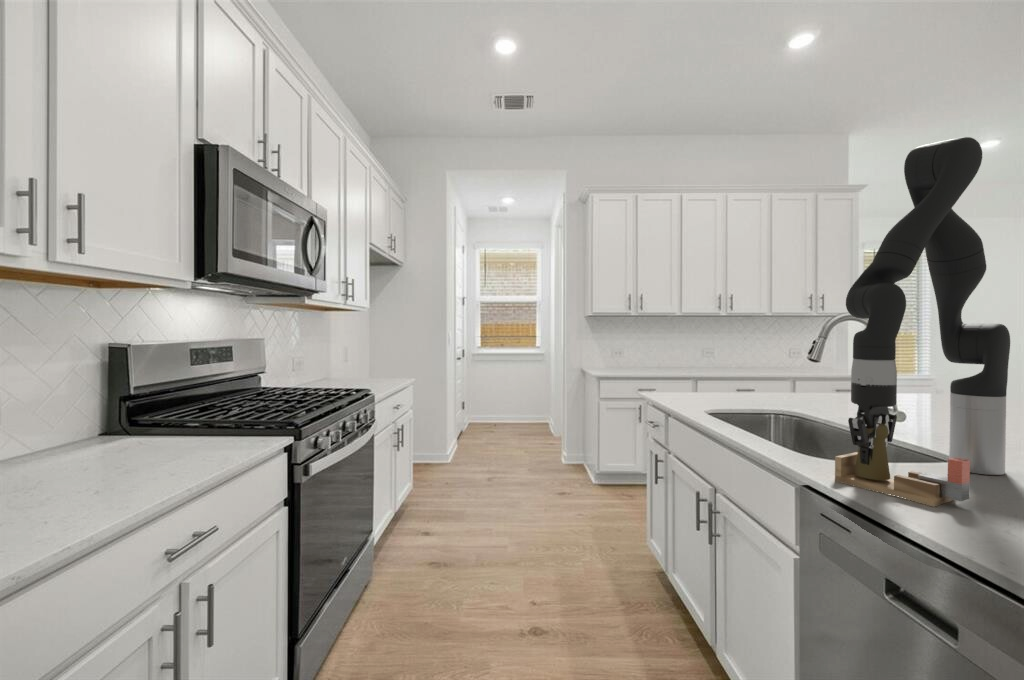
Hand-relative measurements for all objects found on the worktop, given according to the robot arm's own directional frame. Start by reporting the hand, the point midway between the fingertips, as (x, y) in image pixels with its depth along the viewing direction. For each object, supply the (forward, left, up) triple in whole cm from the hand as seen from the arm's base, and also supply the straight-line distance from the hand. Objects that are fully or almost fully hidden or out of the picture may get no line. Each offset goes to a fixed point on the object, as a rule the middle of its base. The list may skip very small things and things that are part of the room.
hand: (872, 464), depth 100 cm
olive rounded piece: (0, 0, -2) cm, 2 cm away
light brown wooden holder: (0, +3, -4) cm, 5 cm away
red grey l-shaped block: (0, +12, -3) cm, 12 cm away
